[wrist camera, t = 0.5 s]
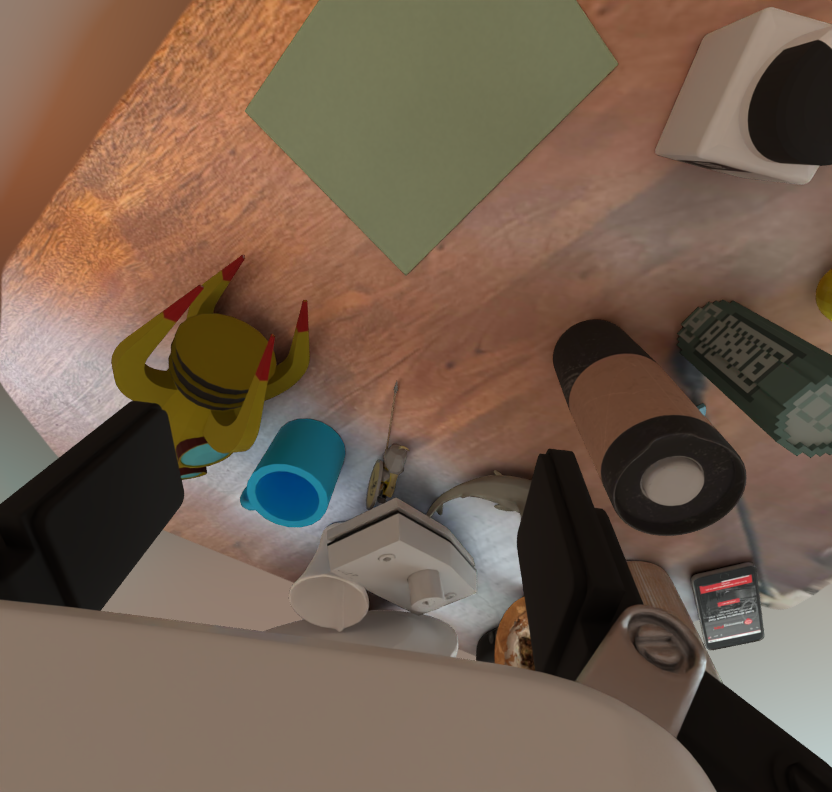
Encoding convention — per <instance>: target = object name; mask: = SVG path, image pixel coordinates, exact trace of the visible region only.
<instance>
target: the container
mask: <svg viewBox="0 0 832 792" xmlns="http://www.w3.org/2000/svg"><path fill="white" fill-rule="evenodd" d="M655 153H656V154H657V155H658V156H662V157H666V158H669V159H673V160H677V161H681V162H684V163H688V164H692V165H695V166H699V167H703V168H707V169H710V170H714V171H718V172H721V173H725V174H729V175H733V176H736V177H740V178H746V179H755V180H763V181H772V182H781V183H789V184H798V185H804V184H806V183H808V182H809V181H810V180H811V179H812V177H813V176H814V174H815V172H816V171H817V169H818V167H819V166H823V165H832V24H829V23H826V22H822V21H819V20H815V19H812V18H808V17H805V16H801V15H798V14H794V13H791V12H787V11H784V10H780V9H777V8H773V7H768V8H765V9H763V10H761V11H758V12H756V13H754V14H752V15H749V16H747V17H745V18H743V19H740V20H738V21H736V22H733V23H731V24H729V25H727V26H724V27H722V28H720V29H717V30H715V31H713V32H711V33H708V34H707V35H705V37H704V38H703V39H702V42H701V44H700V46H699V49H698V51H697V53H696V56H695V58H694V60H693V63H692V65H691V67H690V69H689V72H688V74H687V76H686V79H685V81H684V83H683V86H682V88H681V90H680V93H679V95H678V97H677V100H676V102H675V104H674V107H673V109H672V111H671V114H670V116H669V118H668V121H667V123H666V125H665V128H664V130H663V132H662V134H661V137H660V139H659V141H658V144H657V146H656V148H655Z"/></svg>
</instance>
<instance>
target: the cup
mask: <svg viewBox="0 0 832 792" xmlns="http://www.w3.org/2000/svg"><path fill="white" fill-rule="evenodd" d="M342 523H343V522H341V523H333V524H331V525H330V526H328V527H326V528H325V529H324V530H323V533H322V535H321V540H320V544H319V547H318V549H317V552H316V554H315V555H314V557H313V559H312V561H311V562H310V563H309V565H308V567H307V569H306V570H305V572H304V573H303V574H302V575H301V576H300V578H299V579H298V580H297V581H296V582H295V583H294V584H293V585H292V587H291V589H290V592H289V601H290V605H291V607H292V608H293V610H294V611H295V612H296V613H297V614H298V615H299V616H300V617H301V618H303V619H304V620H306V621H308V622H310V623H312V624H315V625H317V626H320V627H326V628H334V629H336V630H337V631H338V632H342V631H343V629H344V628H346V627H349V626H352V625H354V624H356V623H358V622H360V621H361V620H362V619H363V617H364V616H365V615H366V614H367V611H368V608H369V599H368V595H367V592H366V590H365V588H364V587H363V586H362V585H360V584H358V583H356V582H352V581H348V580H346V579H344V578H342V577H340V576H338V575H336V574H334V573H332V572H330V567H329V558H328V549H327V543H330V542H331V541H329V540H327V530H329V529H331V528H333V527H335V526H338V525H340V524H342Z"/></svg>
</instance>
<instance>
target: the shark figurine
mask: <svg viewBox="0 0 832 792" xmlns="http://www.w3.org/2000/svg"><path fill="white" fill-rule="evenodd" d="M494 474H495V475H492V476H485V477H480V478H476V479H473V480H470V481H467V482H465V483H462V484H460V485H458V486H456V487H454V488H452V489H450V490H448V491H447V492H445V493H444V494H442V495H441V496H440V497H439V498H438V499H437V500H436V501H435V502H434V503H433V504H432V506H431V507H430V508H429V510H428V512H427V514H426V516H428V517H429V519H430V518H431V516H432V515H433V513H434V512H435V511H436V512H437V513H438V514H439V515H442V511H443V504H444V503H446V502H447V501H450V500H452V499H455V498H458V497H462V498H465V497H467V496H471V497H478V498H482V499H486V500H489V501H492V502H495V503H498V505H495V506H494V507H495V508H497V509H499V510H504V511H516V512H518V513H520V515H521V519H522V515H523V511H524V507H525V504H526V500H527V496H528V492H529V489H530V485H531V481H532V480H527V479H523V478H518V477H512V476H505V475H501V473H500V472H498V471H496V470H494Z"/></svg>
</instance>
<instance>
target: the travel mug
mask: <svg viewBox="0 0 832 792" xmlns="http://www.w3.org/2000/svg"><path fill="white" fill-rule="evenodd" d="M553 364H554V368H555V371H556V374H557V377H558V380H559V382H560V385H561V388H562V391H563V393H564V396H565V399H566V402H567V404H568V407H569V410H570V412H571V415H572V417H573V419H574V422H575V424H576V426H577V428H578V430H579V433H580V435H581V437H582V439H583V441H584V444H585V446H586V448H587V450H588V452H589V455H590V457H591V459H592V461H593V464H594V466H595V468H596V470H597V472H598V475H599V477H600V479H601V481H602V483H603V486H604V488H605V490H606V492H607V494H608V497H609V499H610V501H611V503H612V505H613V507H614V509H615V511H616V513H617V514H618V515H619V517H620V518H621V519H622V520H623V521H624V522H625V523H626V524H628V525H629V526H631V527H632V528H634V529H636V530H638V531H641V532H644V533H647V534H652V535H659V536H674V535H682V534H687V533H691V532H695V531H698V530H700V529H703V528H705V527H708V526H710V525H712V524H713V523H715V522H717V521H718V520H720V519H721V518H723V517H724V516H725V515H727V514H728V513H729V512H730V511H731V510H732V509H733V508H734V506H735V505H736V504H737V503H738V501H739V500H740V498H741V496H742V494H743V492H744V489H745V485H746V470H745V466H744V463H743V462H742V460H741V458H740V456H739V455H738V454H737V452H736V451H735V450H734V449H733V448H732V446H731V445H730V444H729V443H728V442H727V441H726V440H725V439H724V437H723V436H722V435H721V434H720V433H719V432H718V431H717V430H716V429H715V427H714V426H713V425H712V424H711V423H710V422H709V421H708V420H707V418H706V417H705V416H704V415H703V414H702V413H701V412H700V411H699V409H698V408H697V407H696V406H695V405H694V404H693V403H692V402H691V400H690V399H689V398H688V397H687V396H686V395H685V394H684V393H683V391H682V390H681V389H680V388H679V387H678V386H677V385H676V384H675V383H674V381H673V380H672V379H671V378H670V377H669V376H668V375H667V374H666V372H665V371H664V370H663V369H662V368H661V367H660V366H659V365H658V364H657V363H656V362H655V361H654V360H653V359H652V358H651V357H650V356H649V355H648V354H647V353H646V352H645V351H644V350H643V349H642V348H641V347H640V346H639V345H638V344H636V343H635V342H634V341H633V340H632V339H631V338H630V337H629V336H628V335H627V334H626V333H625V332H624V331H623V330H622V329H620V328H619V327H618V326H616V325H615V324H613V323H611V322H608V321H604V320H588V321H584V322H581V323H578V324H576V325H574V326H572V327H571V328H569V329H568V330H567V331H566V332H565V333H564V334H563V335H562V336H561V337H560V338H559V340H558V342H557V344H556V346H555V349H554V353H553Z"/></svg>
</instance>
